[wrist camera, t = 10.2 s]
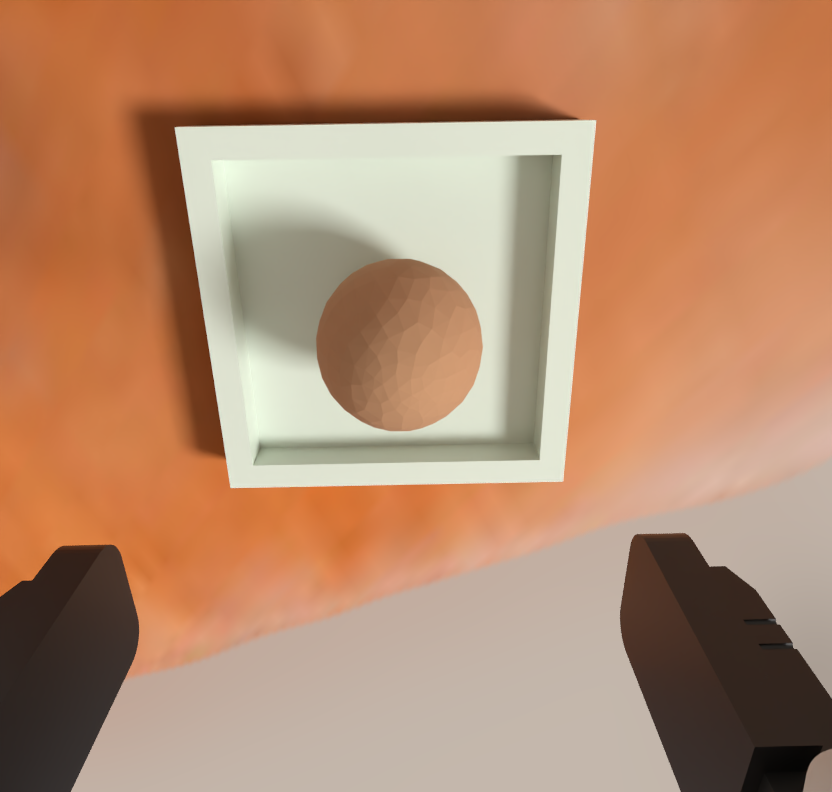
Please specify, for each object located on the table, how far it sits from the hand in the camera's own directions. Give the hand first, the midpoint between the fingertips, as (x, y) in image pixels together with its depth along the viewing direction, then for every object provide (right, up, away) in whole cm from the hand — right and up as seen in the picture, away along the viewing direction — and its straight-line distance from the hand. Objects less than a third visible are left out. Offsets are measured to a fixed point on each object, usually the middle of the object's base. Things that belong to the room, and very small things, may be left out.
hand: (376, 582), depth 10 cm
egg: (0, +6, +14) cm, 15 cm away
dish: (0, +6, +14) cm, 16 cm away
